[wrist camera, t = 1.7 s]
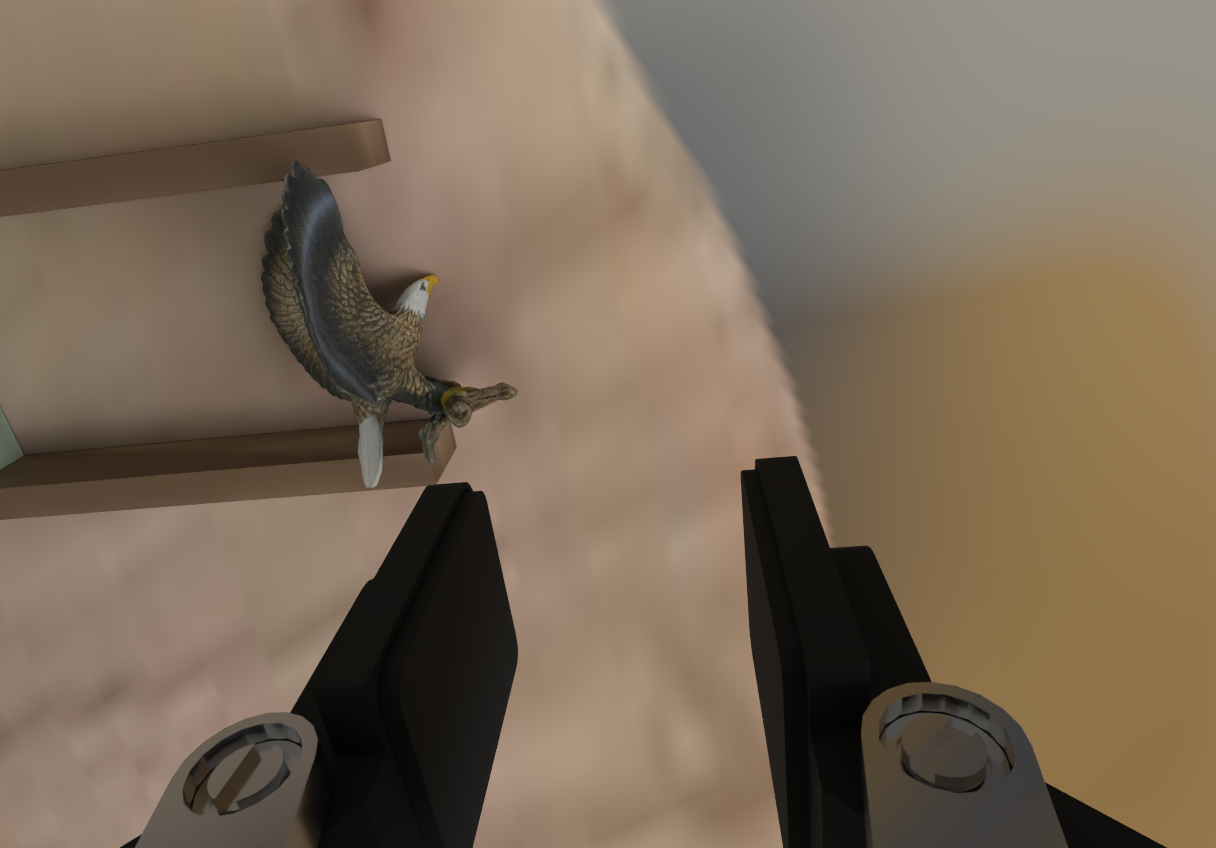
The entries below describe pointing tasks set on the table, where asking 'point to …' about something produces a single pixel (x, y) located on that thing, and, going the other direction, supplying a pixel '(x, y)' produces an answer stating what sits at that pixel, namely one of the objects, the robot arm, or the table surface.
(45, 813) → the table surface
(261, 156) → the walnut guide
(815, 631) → the robot arm
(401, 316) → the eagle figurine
